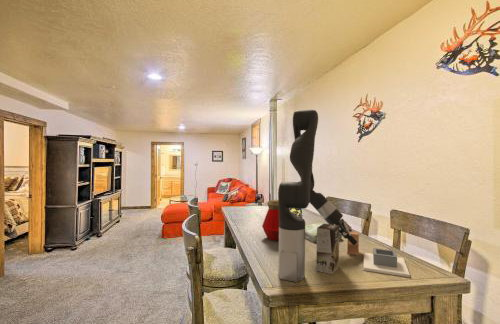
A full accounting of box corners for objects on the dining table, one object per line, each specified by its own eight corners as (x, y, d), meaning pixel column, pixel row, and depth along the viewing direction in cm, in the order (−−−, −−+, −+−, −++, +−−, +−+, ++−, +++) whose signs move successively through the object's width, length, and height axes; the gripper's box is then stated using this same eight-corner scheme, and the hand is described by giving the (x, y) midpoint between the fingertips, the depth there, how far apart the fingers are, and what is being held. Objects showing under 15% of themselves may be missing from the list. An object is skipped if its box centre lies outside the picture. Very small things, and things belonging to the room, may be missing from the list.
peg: (358, 255, 118) (358, 234, 118) (347, 253, 119) (347, 233, 119) (358, 251, 122) (358, 232, 122) (347, 250, 123) (348, 230, 123)
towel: (313, 243, 134) (313, 233, 134) (293, 232, 154) (293, 223, 154) (344, 240, 140) (344, 230, 140) (320, 230, 160) (320, 221, 160)
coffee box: (333, 274, 97) (333, 230, 97) (315, 270, 100) (316, 227, 100) (339, 266, 105) (340, 224, 105) (323, 263, 108) (323, 222, 108)
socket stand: (409, 277, 95) (409, 263, 95) (363, 270, 101) (363, 256, 101) (403, 260, 112) (403, 248, 112) (363, 254, 118) (364, 243, 118)
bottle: (295, 240, 138) (296, 201, 138) (275, 244, 131) (275, 203, 131) (276, 233, 151) (276, 197, 151) (256, 236, 144) (256, 199, 144)
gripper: (334, 210, 117) (362, 240, 112) (337, 205, 130) (362, 231, 126) (321, 221, 119) (348, 251, 115) (325, 215, 132) (350, 241, 128)
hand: (356, 241), depth 120 cm, fingers open, 8 cm apart
